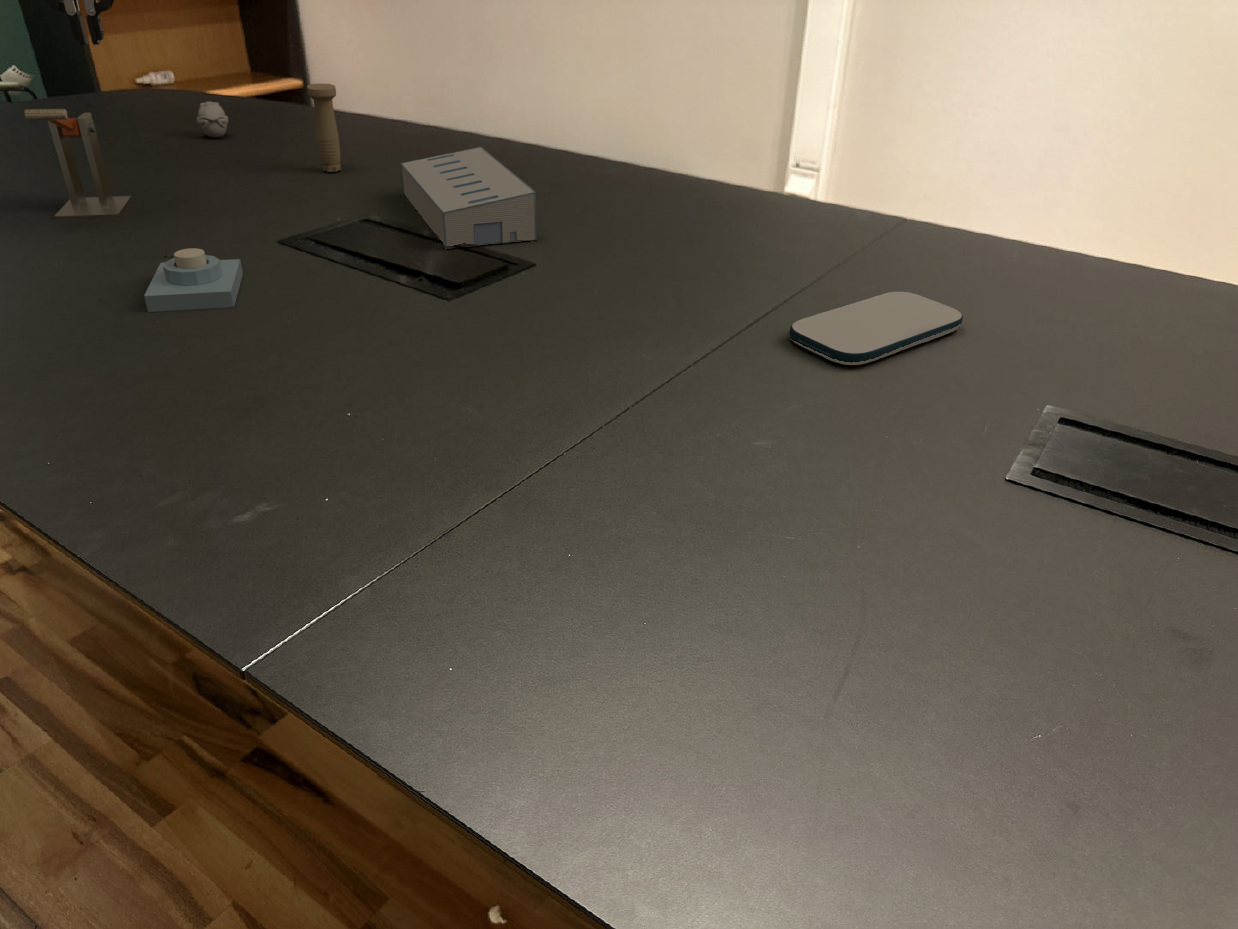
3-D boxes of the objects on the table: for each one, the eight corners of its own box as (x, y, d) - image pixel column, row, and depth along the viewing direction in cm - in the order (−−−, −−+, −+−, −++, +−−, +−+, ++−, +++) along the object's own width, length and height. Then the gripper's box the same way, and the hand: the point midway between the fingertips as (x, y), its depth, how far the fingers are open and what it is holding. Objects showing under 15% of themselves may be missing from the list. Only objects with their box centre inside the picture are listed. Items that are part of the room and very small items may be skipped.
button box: (234, 307, 113) (227, 277, 111) (148, 312, 111) (140, 281, 109) (243, 274, 123) (237, 245, 121) (164, 278, 121) (157, 249, 119)
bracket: (120, 221, 141) (94, 122, 133) (56, 223, 138) (26, 122, 131) (132, 203, 149) (109, 108, 141) (72, 205, 147) (45, 109, 139)
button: (205, 270, 114) (202, 256, 113) (174, 271, 113) (171, 258, 112) (208, 260, 117) (206, 247, 116) (179, 261, 116) (176, 248, 115)
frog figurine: (230, 132, 193) (223, 98, 190) (232, 140, 188) (226, 104, 184) (199, 134, 191) (192, 99, 187) (201, 141, 186) (194, 105, 182)
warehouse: (403, 196, 158) (399, 151, 153) (483, 190, 163) (481, 146, 158) (445, 250, 134) (441, 199, 130) (536, 241, 139) (536, 191, 135)
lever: (65, 122, 126) (62, 104, 126) (26, 122, 125) (22, 104, 125) (94, 137, 139) (92, 121, 138) (59, 138, 138) (56, 121, 137)
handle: (320, 176, 166) (308, 90, 159) (317, 167, 172) (306, 83, 164) (347, 175, 168) (336, 89, 160) (343, 166, 173) (333, 83, 165)
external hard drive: (898, 301, 123) (900, 287, 122) (970, 330, 115) (974, 315, 114) (777, 339, 111) (779, 324, 110) (849, 374, 103) (852, 359, 102)
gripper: (-11, -99, 116) (31, 47, 125) (104, -95, 119) (137, 47, 129) (7, -100, 122) (46, 40, 132) (116, -96, 125) (146, 40, 135)
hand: (91, 43), depth 130 cm, fingers closed
